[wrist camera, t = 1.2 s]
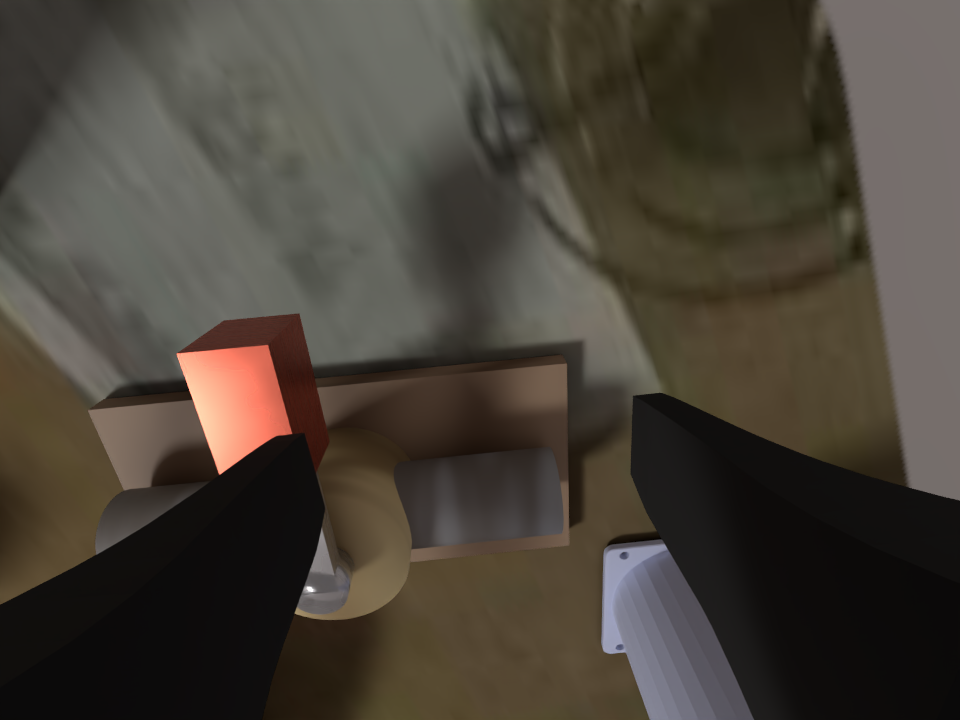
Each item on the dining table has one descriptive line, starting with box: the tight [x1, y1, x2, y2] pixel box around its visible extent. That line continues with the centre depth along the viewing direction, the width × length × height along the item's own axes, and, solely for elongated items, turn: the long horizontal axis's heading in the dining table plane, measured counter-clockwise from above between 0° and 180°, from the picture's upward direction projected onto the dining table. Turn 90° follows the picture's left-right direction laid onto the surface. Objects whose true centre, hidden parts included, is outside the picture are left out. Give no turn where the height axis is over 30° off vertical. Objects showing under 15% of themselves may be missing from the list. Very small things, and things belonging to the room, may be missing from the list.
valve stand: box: [88, 355, 569, 620], centre depth 20 cm, size 20×10×6 cm, turn 95°
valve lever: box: [177, 314, 355, 615], centre depth 15 cm, size 10×2×3 cm, turn 5°
